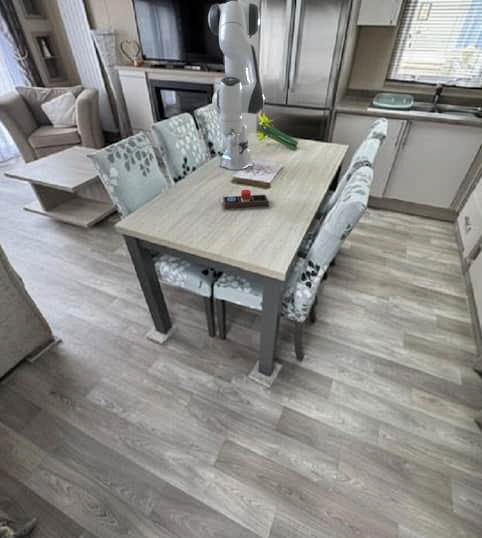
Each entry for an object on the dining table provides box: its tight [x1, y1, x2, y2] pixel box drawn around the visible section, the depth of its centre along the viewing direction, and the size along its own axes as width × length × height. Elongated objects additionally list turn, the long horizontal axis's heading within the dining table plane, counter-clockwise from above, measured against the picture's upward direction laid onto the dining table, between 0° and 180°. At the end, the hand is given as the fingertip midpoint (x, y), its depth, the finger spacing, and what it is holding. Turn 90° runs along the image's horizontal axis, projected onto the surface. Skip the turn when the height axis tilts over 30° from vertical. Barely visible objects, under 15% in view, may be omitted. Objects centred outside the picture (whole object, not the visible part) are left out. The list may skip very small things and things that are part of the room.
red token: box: [240, 189, 252, 200], centre depth 132 cm, size 4×4×3 cm
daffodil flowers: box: [254, 112, 300, 151], centre depth 202 cm, size 17×15×35 cm
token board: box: [222, 194, 269, 210], centre depth 135 cm, size 7×20×3 cm, turn 99°
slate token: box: [226, 196, 237, 203], centre depth 134 cm, size 4×4×3 cm
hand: (231, 161), depth 126 cm, fingers open, 8 cm apart
